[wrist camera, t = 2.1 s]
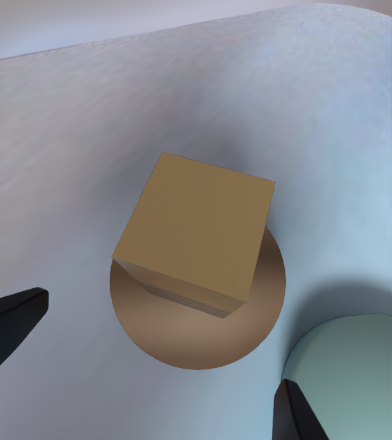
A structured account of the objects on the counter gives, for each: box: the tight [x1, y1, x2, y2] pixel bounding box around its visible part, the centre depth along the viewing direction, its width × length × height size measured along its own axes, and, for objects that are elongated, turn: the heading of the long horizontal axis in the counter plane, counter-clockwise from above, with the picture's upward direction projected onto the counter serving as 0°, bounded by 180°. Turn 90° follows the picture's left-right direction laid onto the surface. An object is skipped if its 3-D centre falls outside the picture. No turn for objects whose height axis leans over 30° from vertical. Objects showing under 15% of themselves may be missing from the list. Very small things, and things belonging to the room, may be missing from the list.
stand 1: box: [110, 226, 286, 370], centre depth 20 cm, size 13×13×3 cm
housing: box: [112, 152, 275, 319], centre depth 15 cm, size 6×6×9 cm
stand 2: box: [281, 314, 392, 440], centre depth 16 cm, size 13×13×3 cm
